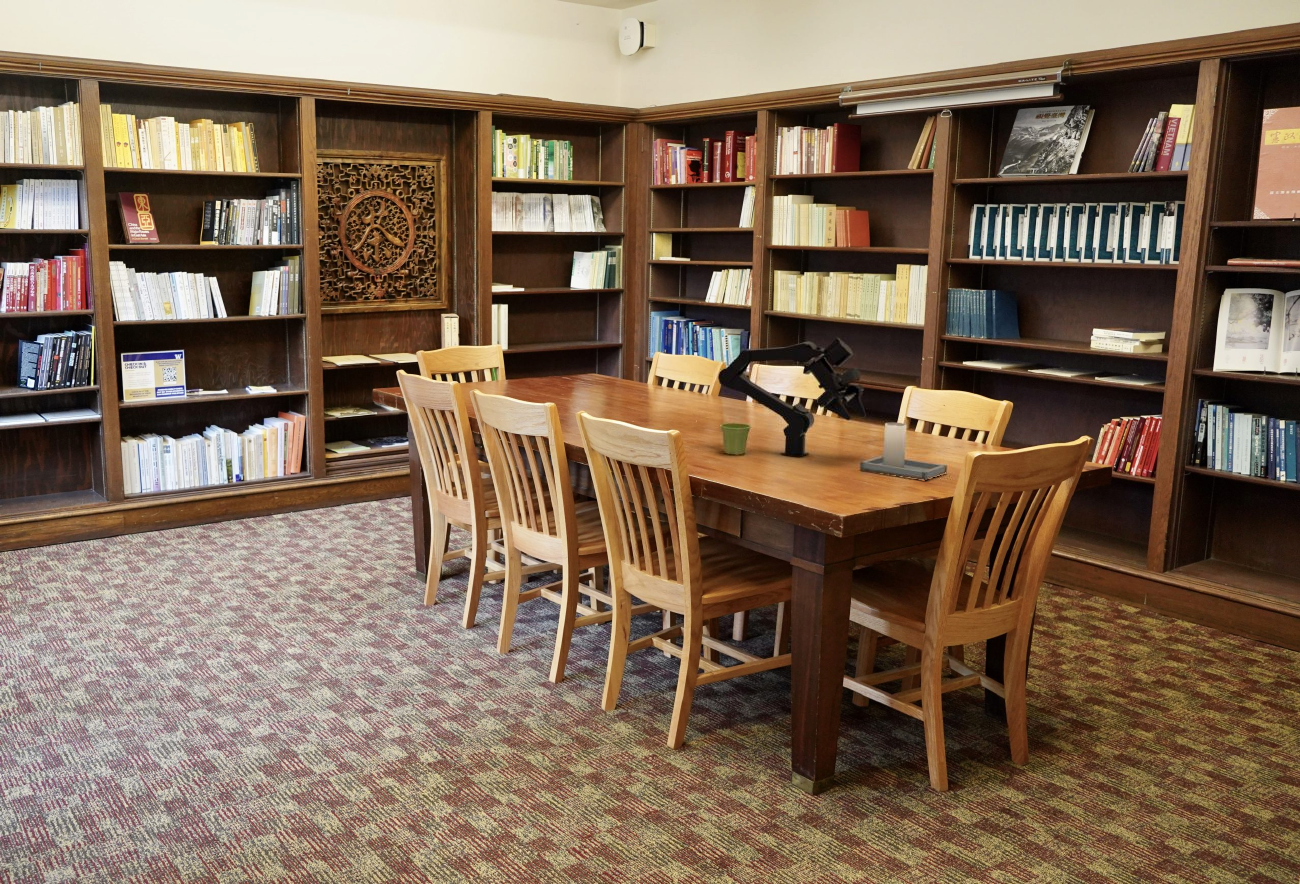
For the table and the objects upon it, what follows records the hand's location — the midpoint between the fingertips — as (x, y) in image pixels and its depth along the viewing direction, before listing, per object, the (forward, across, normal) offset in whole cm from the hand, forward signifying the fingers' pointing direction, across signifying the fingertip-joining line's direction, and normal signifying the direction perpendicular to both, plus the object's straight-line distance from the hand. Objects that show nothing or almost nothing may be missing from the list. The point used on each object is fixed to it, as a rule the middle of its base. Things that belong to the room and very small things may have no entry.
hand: (857, 417), depth 327 cm
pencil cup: (+18, -2, -1) cm, 19 cm away
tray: (+21, -2, -2) cm, 21 cm away
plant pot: (-14, -14, +33) cm, 39 cm away
